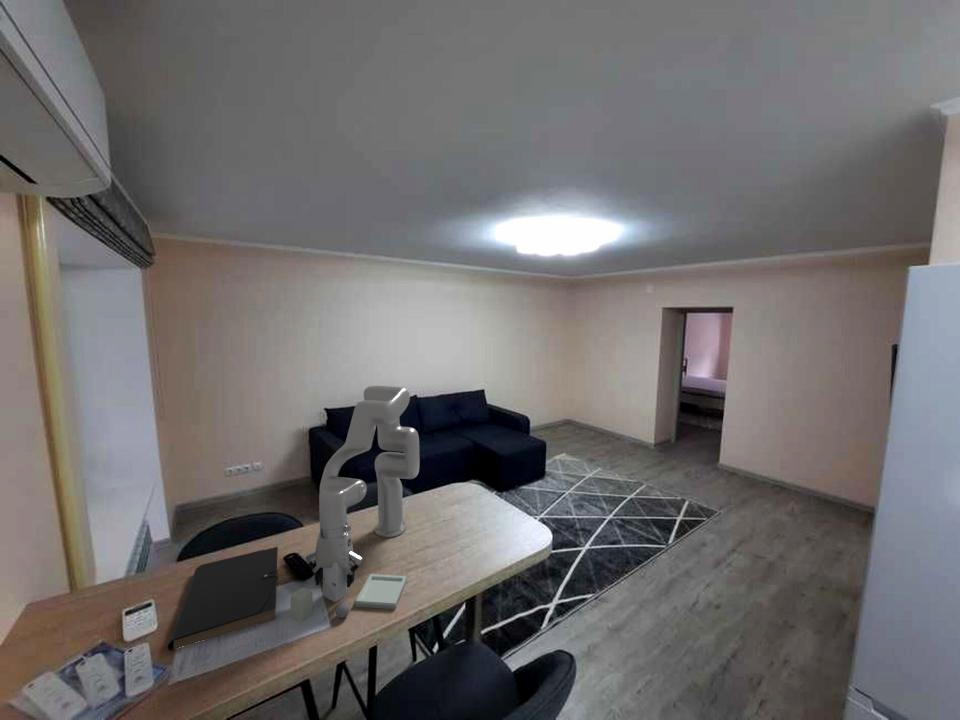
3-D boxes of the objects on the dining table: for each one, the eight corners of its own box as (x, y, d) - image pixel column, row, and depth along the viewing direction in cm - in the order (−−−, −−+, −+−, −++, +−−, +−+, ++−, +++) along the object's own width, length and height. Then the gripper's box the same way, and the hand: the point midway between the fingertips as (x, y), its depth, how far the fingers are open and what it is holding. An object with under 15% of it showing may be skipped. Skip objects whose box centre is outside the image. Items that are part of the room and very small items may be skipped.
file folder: (276, 606, 105) (166, 640, 94) (277, 620, 106) (168, 655, 95) (278, 545, 135) (194, 565, 124) (279, 556, 135) (195, 577, 124)
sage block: (303, 606, 110) (302, 587, 110) (313, 611, 109) (312, 591, 108) (291, 616, 107) (290, 596, 106) (301, 620, 105) (300, 600, 105)
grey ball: (339, 611, 109) (339, 599, 108) (351, 611, 108) (351, 600, 108) (333, 620, 105) (333, 608, 105) (346, 621, 105) (346, 609, 105)
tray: (370, 579, 123) (370, 573, 122) (406, 581, 122) (406, 576, 121) (355, 606, 111) (355, 600, 110) (395, 609, 110) (395, 603, 110)
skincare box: (322, 596, 115) (321, 558, 114) (334, 587, 119) (333, 550, 118) (336, 603, 112) (335, 564, 111) (348, 594, 116) (347, 556, 115)
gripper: (366, 524, 116) (367, 577, 118) (312, 521, 118) (313, 573, 119) (356, 537, 109) (357, 593, 110) (298, 534, 110) (300, 590, 112)
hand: (334, 583), depth 115 cm, fingers open, 9 cm apart
